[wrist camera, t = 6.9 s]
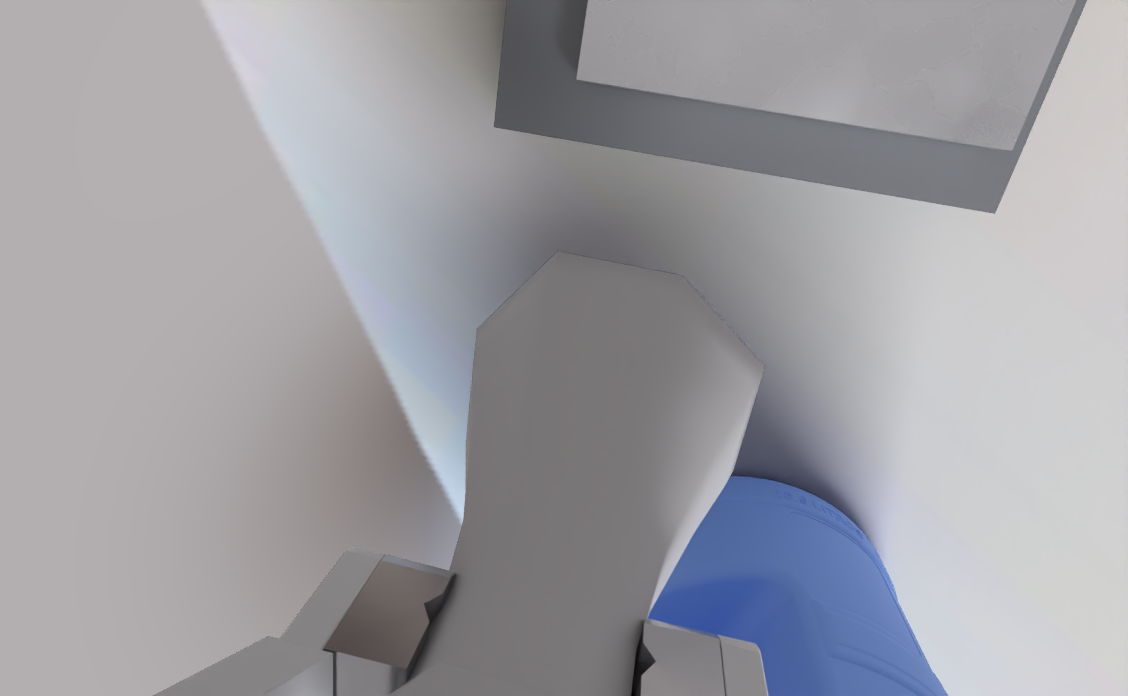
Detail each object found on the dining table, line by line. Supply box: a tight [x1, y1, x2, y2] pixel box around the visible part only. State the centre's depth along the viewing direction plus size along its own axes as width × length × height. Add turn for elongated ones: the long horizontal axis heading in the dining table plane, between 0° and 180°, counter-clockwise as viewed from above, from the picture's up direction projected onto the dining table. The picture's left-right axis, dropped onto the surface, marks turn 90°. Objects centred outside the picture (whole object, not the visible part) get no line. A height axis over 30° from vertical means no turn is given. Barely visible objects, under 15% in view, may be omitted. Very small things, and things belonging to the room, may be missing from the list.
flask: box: [388, 251, 765, 696], centre depth 10 cm, size 7×7×10 cm
